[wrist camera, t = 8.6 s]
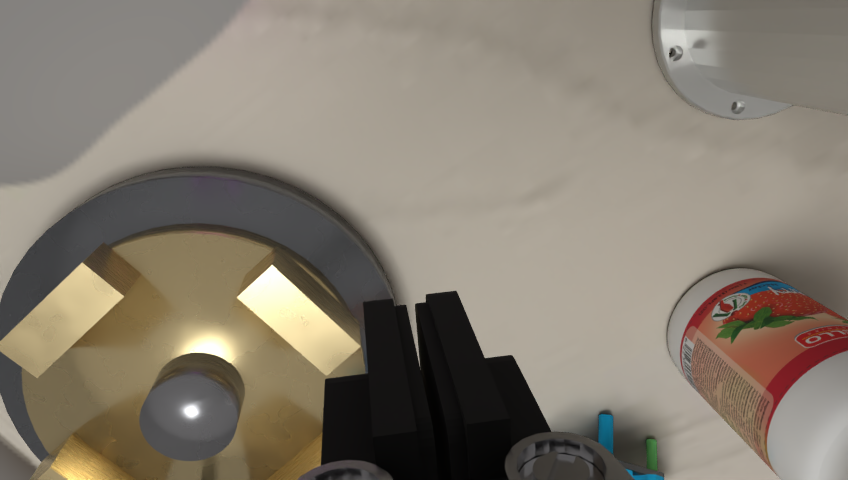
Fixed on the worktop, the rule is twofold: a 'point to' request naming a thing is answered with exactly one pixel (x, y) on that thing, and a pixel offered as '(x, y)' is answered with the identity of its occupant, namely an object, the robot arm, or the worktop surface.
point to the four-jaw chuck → (184, 359)
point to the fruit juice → (768, 369)
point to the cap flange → (185, 204)
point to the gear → (648, 476)
